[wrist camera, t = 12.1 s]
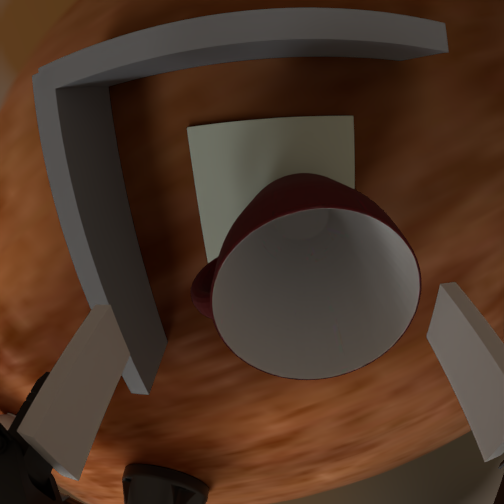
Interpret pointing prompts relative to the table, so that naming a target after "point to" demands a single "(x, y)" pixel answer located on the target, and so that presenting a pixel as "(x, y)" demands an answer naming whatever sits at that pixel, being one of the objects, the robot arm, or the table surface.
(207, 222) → the corner arena
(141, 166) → the table surface
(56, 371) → the robot arm
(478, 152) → the table surface
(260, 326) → the mug
